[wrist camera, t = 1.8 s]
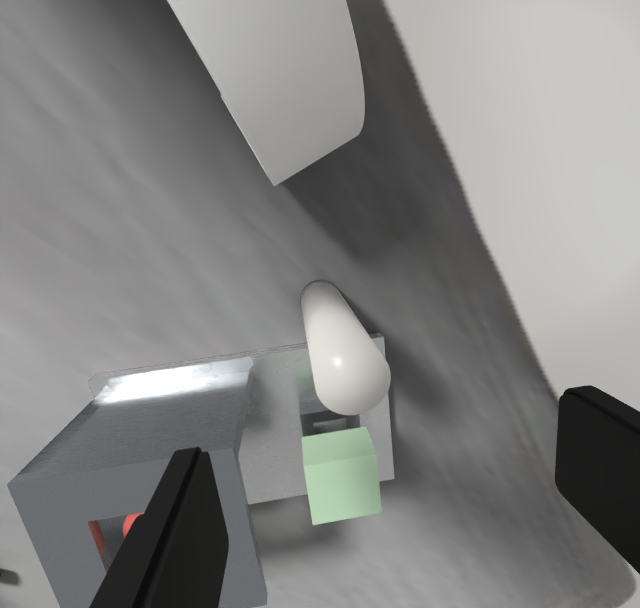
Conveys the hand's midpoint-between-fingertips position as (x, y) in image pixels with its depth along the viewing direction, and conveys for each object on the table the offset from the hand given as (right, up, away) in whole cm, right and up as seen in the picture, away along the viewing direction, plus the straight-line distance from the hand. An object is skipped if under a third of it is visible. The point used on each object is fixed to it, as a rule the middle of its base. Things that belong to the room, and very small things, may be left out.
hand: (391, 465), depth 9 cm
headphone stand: (-4, +15, +12) cm, 20 cm away
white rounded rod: (-2, +4, +15) cm, 16 cm away
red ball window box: (-7, -5, +17) cm, 19 cm away
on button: (-1, -5, +14) cm, 15 cm away
